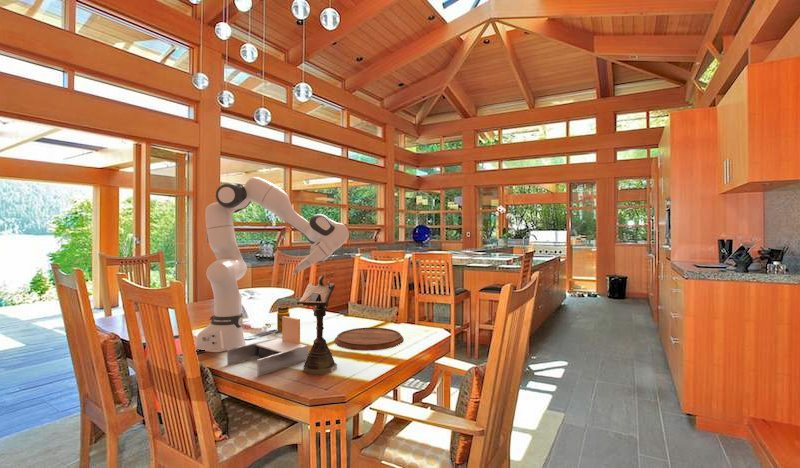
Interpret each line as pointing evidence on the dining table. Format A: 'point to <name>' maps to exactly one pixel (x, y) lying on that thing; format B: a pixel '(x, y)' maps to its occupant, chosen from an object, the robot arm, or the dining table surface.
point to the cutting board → (368, 338)
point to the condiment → (281, 312)
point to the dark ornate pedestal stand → (318, 328)
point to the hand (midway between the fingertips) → (296, 271)
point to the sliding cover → (285, 336)
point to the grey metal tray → (267, 357)
